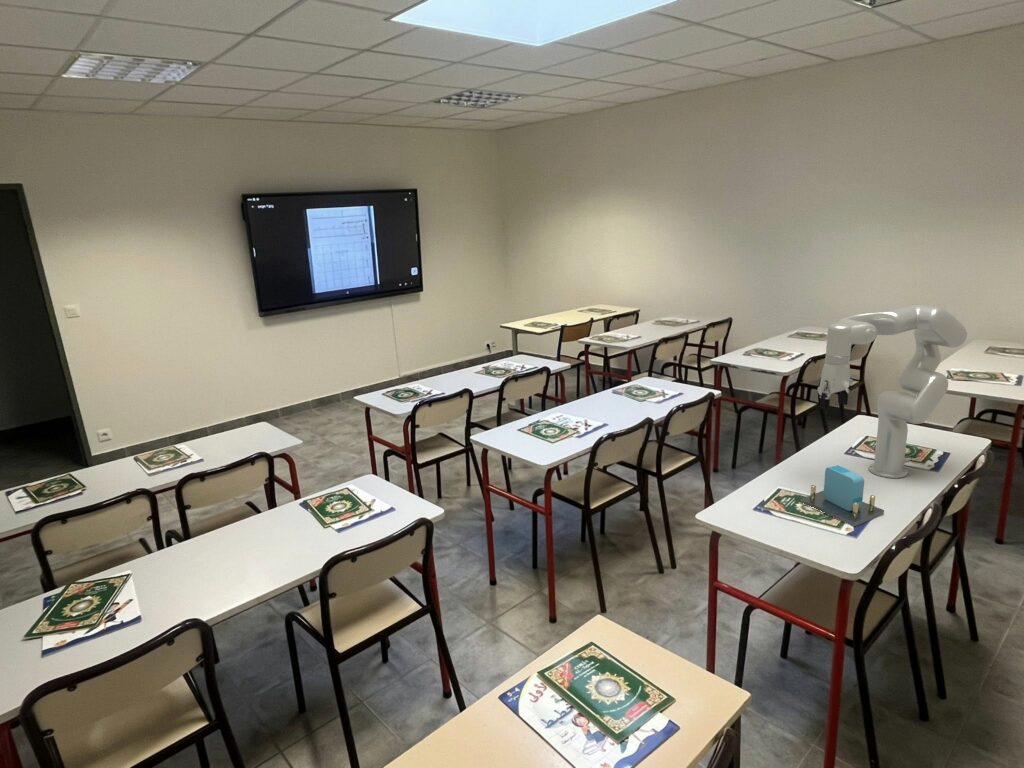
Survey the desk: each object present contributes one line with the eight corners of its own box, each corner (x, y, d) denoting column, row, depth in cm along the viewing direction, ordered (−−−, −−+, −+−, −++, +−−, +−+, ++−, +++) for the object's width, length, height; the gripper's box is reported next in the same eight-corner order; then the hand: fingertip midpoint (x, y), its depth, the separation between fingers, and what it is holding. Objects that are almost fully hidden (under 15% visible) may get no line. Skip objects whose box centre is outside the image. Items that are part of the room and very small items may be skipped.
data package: (861, 510, 202) (865, 477, 198) (851, 513, 200) (854, 479, 197) (833, 495, 213) (835, 463, 209) (822, 498, 211) (825, 466, 208)
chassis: (828, 492, 219) (830, 475, 217) (883, 514, 201) (885, 496, 200) (800, 503, 212) (801, 485, 210) (854, 526, 195) (856, 508, 193)
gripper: (843, 354, 218) (839, 399, 223) (811, 361, 211) (807, 408, 215) (863, 357, 212) (859, 404, 216) (830, 365, 204) (826, 414, 209)
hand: (833, 406), depth 216 cm, fingers open, 9 cm apart
